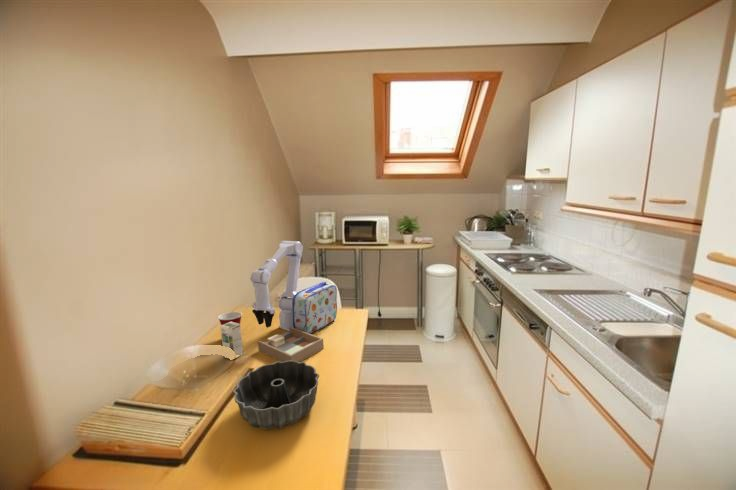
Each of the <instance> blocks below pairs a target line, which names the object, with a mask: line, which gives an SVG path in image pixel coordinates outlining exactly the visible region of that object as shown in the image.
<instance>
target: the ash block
mask: <svg viewBox="0 0 736 490" xmlns="http://www.w3.org/2000/svg"><path fill="white" fill-rule="evenodd" d="M280 335H281V334H277V333H276V334H275V335H272V336H270V337H267V341H268V345H270V346H273V347H275V348H276V347H278V346H280V345H282V344H284V343H285V340H284V337H283V336H280Z"/></svg>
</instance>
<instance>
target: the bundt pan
mask: <svg viewBox="0 0 736 490" xmlns="http://www.w3.org/2000/svg"><path fill="white" fill-rule="evenodd" d="M316 371H317V370H316V368H315V366H313V365H310V364H307V363H306V362H303V361H300V362H297V361H284V362H281V361H275V362H273V363H267V364H264V365H261V366H258V367H257V368H256V369H254V370H251V371H248V372H247V374H246V375H245V376H243V377H241V378H240V379H239V380H238V381H237V382H236V387H235V388H234V389H233V390H232V394H234V397H233V398H234V401H235V403H236V404H237V406H238V409H239V412H240V415H241V416H242V418H243V420H244V421H246V422H248V424H249V425H250V426H251V427H252V428H259V427H260V428H261V429H264V430H272V429H274V428H275V427H276V428H277V429H282V428H283V427H284V426H285V425H294V424H295V423H297V422H298V421H300V418H306V416H307V415H308V413H309V411H310V410H311V409H312V408H313V406H314V405H315V402H316V396H317V393H318V385H319V377H320V374H319V373H318V372H316Z"/></svg>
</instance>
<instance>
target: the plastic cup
mask: <svg viewBox="0 0 736 490" xmlns="http://www.w3.org/2000/svg"><path fill="white" fill-rule="evenodd" d="M242 316H243V312H239V311H230V312H225V313H222V314H220V315H218V316H217V319H218V321H219V323H220V327H221V326H222V325H224V324H226V323H228V322H235V323H238V324H240V325H241V320H242Z"/></svg>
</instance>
